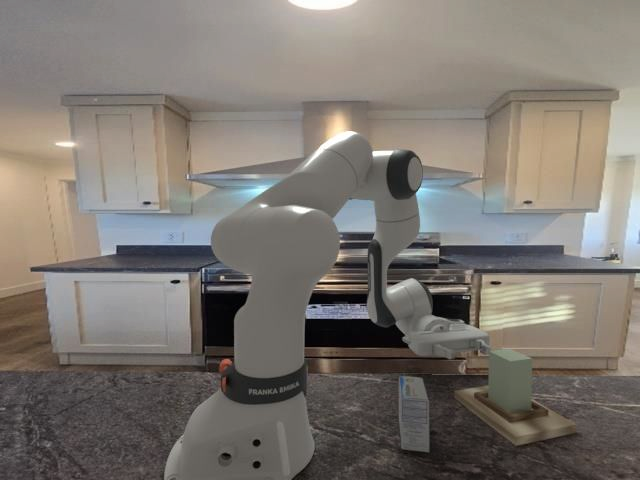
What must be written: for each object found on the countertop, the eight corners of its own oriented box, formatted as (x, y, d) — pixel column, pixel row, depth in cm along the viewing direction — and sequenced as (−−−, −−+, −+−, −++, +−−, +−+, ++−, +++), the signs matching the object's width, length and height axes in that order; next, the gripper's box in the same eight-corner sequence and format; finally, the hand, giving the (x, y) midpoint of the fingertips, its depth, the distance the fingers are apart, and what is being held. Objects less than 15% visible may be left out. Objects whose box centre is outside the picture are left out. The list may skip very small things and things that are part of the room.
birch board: (515, 445, 50) (516, 430, 50) (454, 397, 65) (454, 386, 65) (575, 432, 53) (576, 418, 53) (504, 389, 68) (504, 378, 68)
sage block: (509, 415, 56) (510, 361, 56) (488, 400, 61) (488, 351, 61) (531, 411, 57) (532, 358, 57) (508, 397, 62) (509, 348, 62)
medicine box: (429, 454, 48) (430, 400, 48) (400, 450, 49) (400, 397, 49) (423, 423, 56) (423, 377, 56) (398, 420, 57) (398, 374, 57)
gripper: (398, 325, 80) (430, 344, 66) (465, 319, 85) (507, 335, 71) (398, 349, 80) (430, 372, 67) (465, 341, 85) (507, 362, 72)
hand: (471, 353), depth 69 cm, fingers open, 8 cm apart
